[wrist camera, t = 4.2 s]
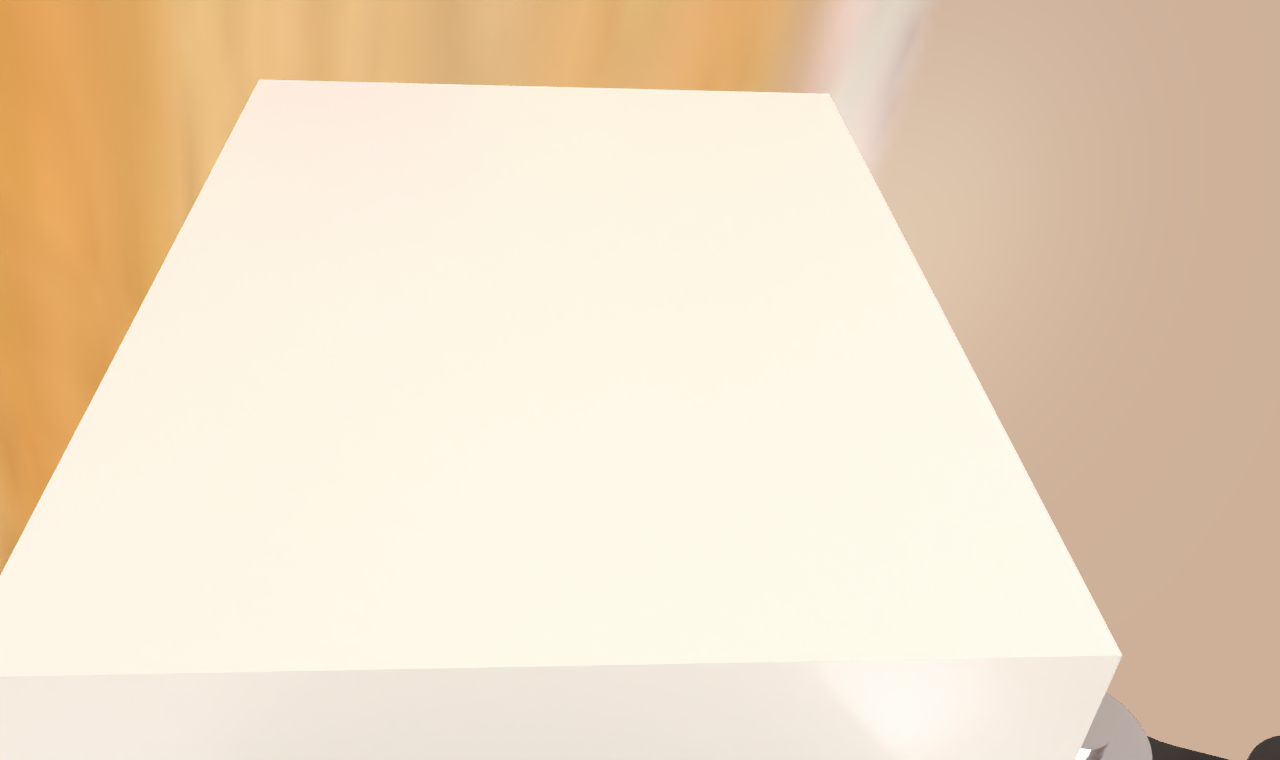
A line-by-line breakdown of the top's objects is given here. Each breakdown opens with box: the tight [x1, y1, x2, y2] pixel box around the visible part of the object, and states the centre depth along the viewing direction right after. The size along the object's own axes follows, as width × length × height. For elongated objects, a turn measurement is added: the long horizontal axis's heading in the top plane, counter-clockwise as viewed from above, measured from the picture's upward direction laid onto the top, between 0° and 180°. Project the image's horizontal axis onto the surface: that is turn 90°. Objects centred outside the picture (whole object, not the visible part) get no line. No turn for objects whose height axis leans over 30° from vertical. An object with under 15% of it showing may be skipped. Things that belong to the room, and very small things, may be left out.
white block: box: [0, 80, 1122, 760], centre depth 12 cm, size 7×7×9 cm
